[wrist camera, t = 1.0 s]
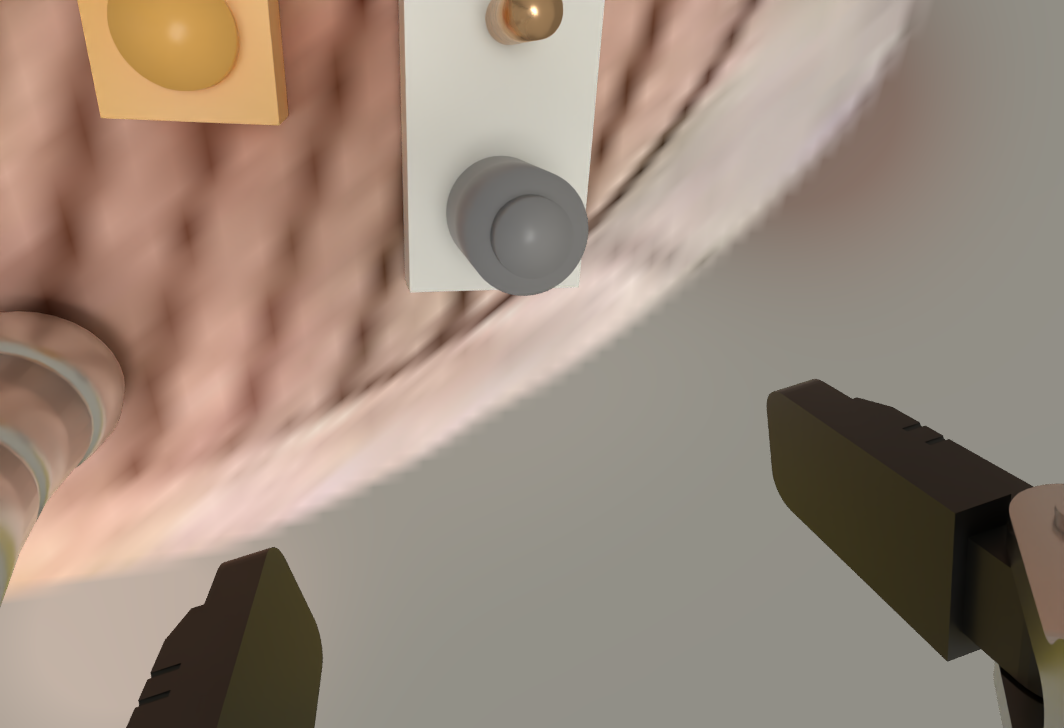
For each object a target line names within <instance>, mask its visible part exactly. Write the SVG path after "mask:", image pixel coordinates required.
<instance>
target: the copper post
mask: <svg viewBox="0 0 1064 728" xmlns="http://www.w3.org/2000/svg"><path fill="white" fill-rule="evenodd" d="M562 17H563V2H562V0H491V1H490V3H489V5H488V7H487V10H486V15H485V21H486V26H487V29H488V31H489V33H490V35H491V36H492V37H493V39H495V40H496V41H497V42H499V43H501V44H504V45H513V44H519V43H525V42H530V41H536V40H542V39H546V38H548V37H550V36H551V35H553V34H554V33H555V32H556V30H557V29H558V28H559V26H560V24H561V21H562Z"/></svg>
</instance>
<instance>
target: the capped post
mask: <svg viewBox="0 0 1064 728" xmlns="http://www.w3.org/2000/svg"><path fill="white" fill-rule="evenodd" d="M446 218H447V225H448V229H449V232H450V235H451V237H452V239H453V241H454V242H455V244H456V245H457V247H458V248H459V249H460V250H461V252H462V253H463V254H464V256H465V257H466V258H467V259H468V261H469V262H470V263H471V264H472V266H473V267H474V268H475V270H476V271H477V272H478V273H479V275H480V276H481V277H482V278H483V279H484V280H485V281H486V282H487V283H488V284H490V285H491V286H493V287H494V288H496V289H498V290H500V291H502V292H505V293H508V294H512V295H519V296H528V295H535V294H539V293H543V292H545V291H548V290H550V289H552V288H554V287H556V286H557V285H559V284H560V283H562V282H563V281H564V280H565V279H566V278H567V277H568V276H569V275H570V274H571V273H572V272H573V271H574V269H575V268H576V266H577V265H578V263H579V261H580V260H581V258H582V255H583V253H584V251H585V247H586V244H587V238H588V218H587V214H586V210H585V207H584V204H583V202H582V200H581V198H580V196H579V195H578V193H577V192H576V190H575V189H574V188H573V187H572V186H571V185H570V184H569V183H568V182H567V181H565V180H564V179H563V178H561V177H559V176H558V175H556V174H553V173H551V172H549V171H546V170H544V169H542V168H539V167H537V166H534V165H532V164H530V163H527V162H525V161H522V160H520V159H517V158H514V157H510V156H493V157H488V158H485V159H482V160H480V161H478V162H476V163H474V164H472V165H471V166H469V167H468V168H467V169H466V170H465V171H464V172H463V173H462V174H461V175H460V176H459V177H458V178H457V180H456V182H455V183H454V185H453V187H452V189H451V191H450V194H449V197H448V201H447V208H446Z"/></svg>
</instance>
